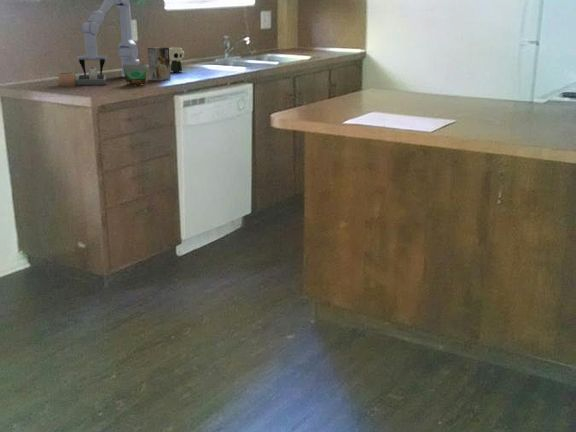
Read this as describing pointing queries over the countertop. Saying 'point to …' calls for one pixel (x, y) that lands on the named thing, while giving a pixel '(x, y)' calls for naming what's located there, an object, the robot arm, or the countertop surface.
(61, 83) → the pot
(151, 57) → the coffee box
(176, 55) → the big headed figurine
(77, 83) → the tray
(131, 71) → the food container
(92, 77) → the cell
